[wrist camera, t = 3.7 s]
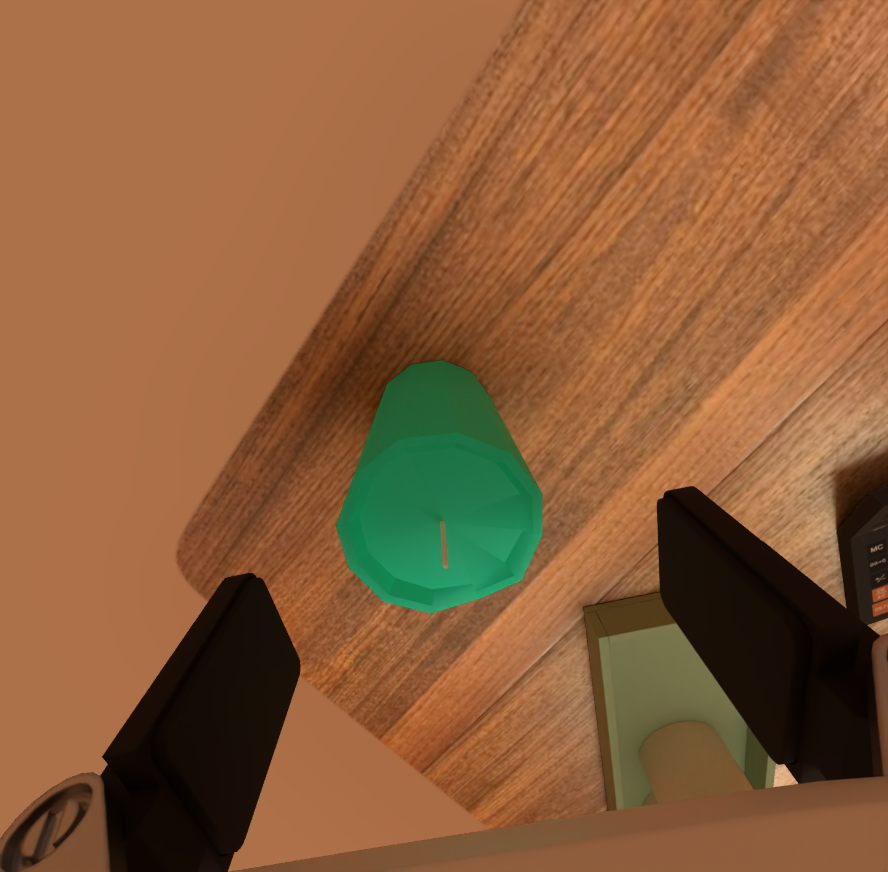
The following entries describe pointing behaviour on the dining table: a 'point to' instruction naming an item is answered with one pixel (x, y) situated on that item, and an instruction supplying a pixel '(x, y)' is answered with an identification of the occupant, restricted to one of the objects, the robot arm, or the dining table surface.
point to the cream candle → (689, 763)
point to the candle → (439, 495)
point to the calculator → (866, 557)
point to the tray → (655, 695)
